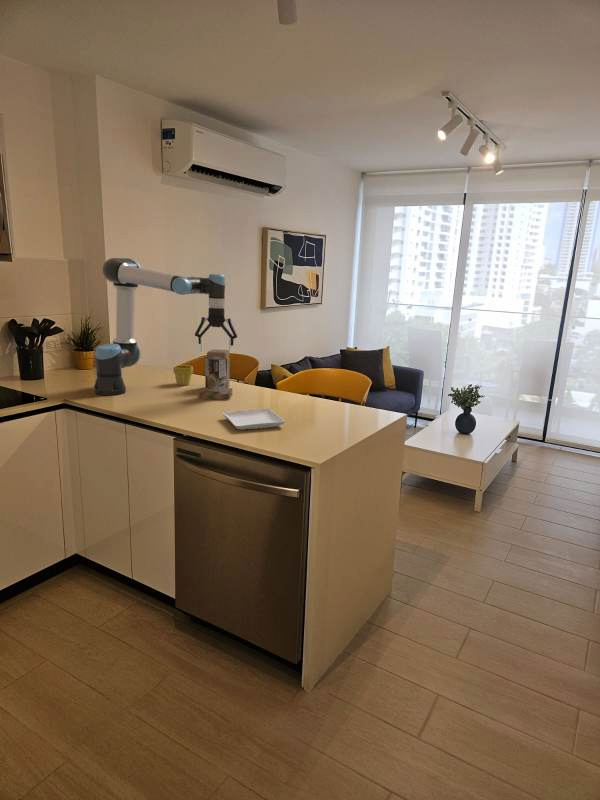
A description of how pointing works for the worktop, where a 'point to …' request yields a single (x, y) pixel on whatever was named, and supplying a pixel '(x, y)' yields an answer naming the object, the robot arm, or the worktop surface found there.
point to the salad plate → (253, 419)
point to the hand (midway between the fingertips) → (215, 351)
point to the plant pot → (183, 374)
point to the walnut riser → (216, 394)
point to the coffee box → (216, 374)
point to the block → (221, 355)
